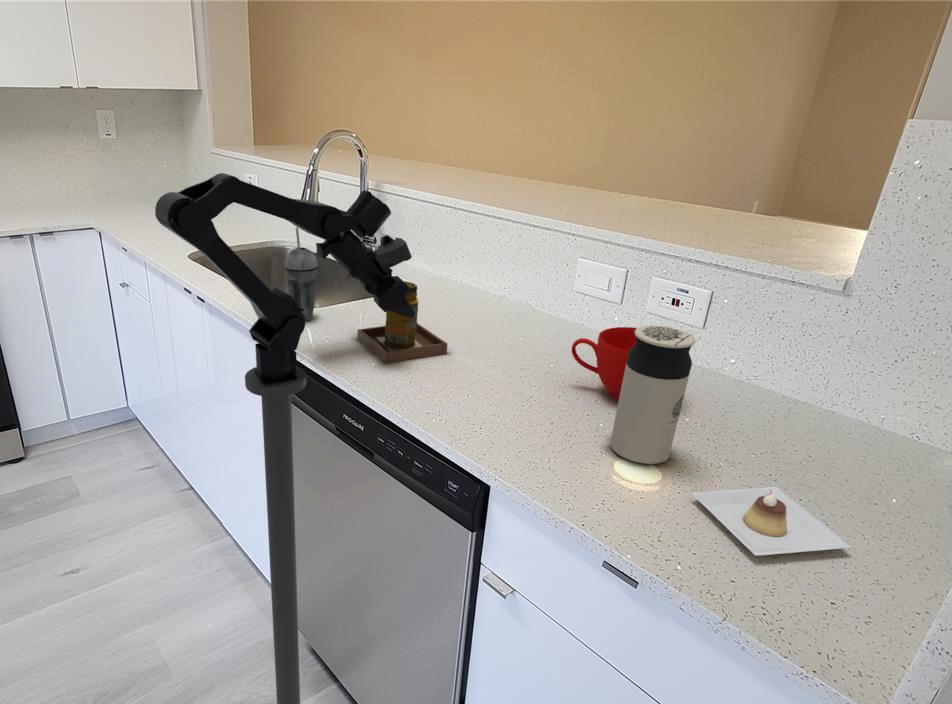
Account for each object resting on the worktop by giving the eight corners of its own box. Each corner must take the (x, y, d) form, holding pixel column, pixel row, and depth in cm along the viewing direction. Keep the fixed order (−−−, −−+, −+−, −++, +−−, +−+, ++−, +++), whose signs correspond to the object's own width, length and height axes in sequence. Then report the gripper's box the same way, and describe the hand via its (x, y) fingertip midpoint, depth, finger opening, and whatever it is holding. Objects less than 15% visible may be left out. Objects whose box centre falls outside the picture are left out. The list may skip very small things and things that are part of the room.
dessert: (773, 493, 84) (784, 462, 82) (848, 555, 73) (862, 520, 71) (688, 499, 82) (697, 467, 80) (752, 563, 72) (764, 528, 70)
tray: (385, 363, 120) (385, 352, 119) (357, 339, 131) (357, 329, 130) (446, 353, 125) (447, 343, 124) (414, 331, 136) (415, 321, 135)
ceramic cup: (569, 370, 119) (577, 319, 115) (668, 386, 114) (680, 333, 109) (562, 399, 108) (570, 344, 104) (671, 419, 102) (685, 361, 98)
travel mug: (598, 447, 94) (621, 331, 87) (629, 431, 98) (653, 320, 91) (649, 472, 88) (677, 350, 81) (679, 454, 93) (709, 337, 85)
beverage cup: (325, 317, 143) (325, 226, 135) (305, 326, 137) (303, 232, 129) (299, 310, 146) (297, 222, 138) (278, 319, 141) (275, 227, 133)
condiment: (409, 335, 132) (413, 278, 127) (426, 351, 125) (431, 291, 120) (376, 338, 130) (378, 280, 125) (391, 354, 122) (394, 293, 117)
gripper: (400, 236, 109) (456, 295, 116) (373, 215, 126) (423, 268, 133) (354, 282, 110) (412, 339, 118) (333, 256, 127) (384, 307, 134)
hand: (408, 310), depth 125 cm, fingers closed on condiment, 6 cm apart
